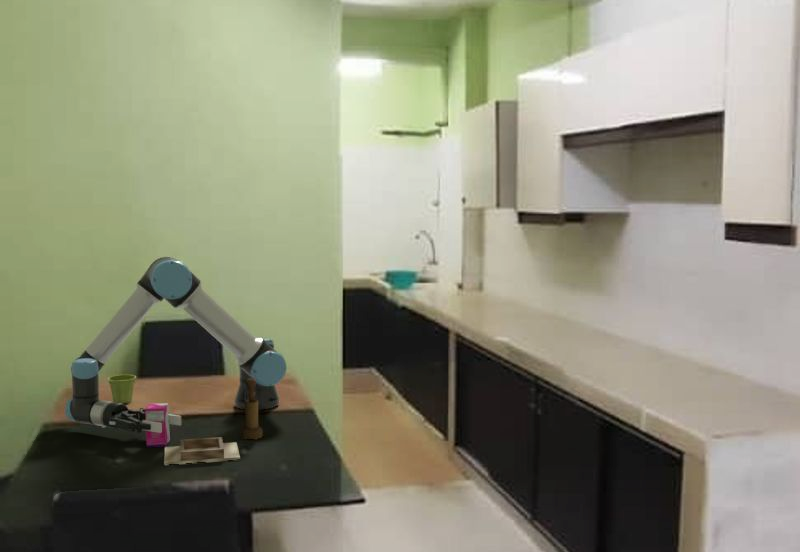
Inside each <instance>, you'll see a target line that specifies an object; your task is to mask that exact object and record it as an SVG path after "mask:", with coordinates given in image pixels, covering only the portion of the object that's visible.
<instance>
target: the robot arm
mask: <svg viewBox="0 0 800 552" xmlns="http://www.w3.org/2000/svg"><path fill="white" fill-rule="evenodd" d="M163 300H165V301H166V302H168V304H169V305H171V306H172V307H173V308H174V309H183V310H184V312H186V313H187V314H188V315H189V316H190V317H191V318H192V319H194V320H195V321H196V322H197V323H198V324H199V325H200V326H201V327H202V328H203V329H205V330H206V331H207V333H209V334H210V335H211V336H212V337H214V339H215V340H217V342H219V344H221V345H222V346H223V347H224V348H226V349H227V350H228V351H229V352H230V353H231V354H232V355H233V356H234V357H235V358H236V361H235V362H236V365H237V366H238V367H239V384H238V388H237V390H236V394H235V396H234V397H235V398H234V407H235V406H236V407H237V409H239V408H240V410H243V409H245V400H248V399H249V397H248V392H249V388H248V387H247V385H246V381H247V379H248V378H254V379H255V380H256V386H255V387H254V392H255V397H254V399H256V400H258V411H264V410H263V409H266V410H270V409H269V408H271V409H274V408H276V407H275V406H277V405H278V404H279V405H280V397H279V394H278V392H277V388H276V385H277V384H279V383H280V382H281V381H282V380H283V379H284V377H285V376H286V372H287V363H286V362H287V361H286V359H285V357H284V356H283V355H282V354H281V353H280V352H278V351H277V350H276V349H275V343H274V340H273V339H272V338H262V337H254V336H253V334H251V332H249V331H248V330H247V329H246V328H245V327H244V326H243V325H242V324H241V323H239V322H238V320H237V319H235V318H234V317H233V315H231V314H230V313H229V312H227V310H226V309H224V307H223V306H221V305H220V304H219V303H218V302H217V301H216V300H215V299H213V297H211V295H209V293H207V292H206V291H205V290H204V289H203V287H202V281H201V280H200V278H198V277H197V276H196V275H195V274H194V273H193V272H192V271H191V270H190V269H189V268H188V266H187V265H186V264H185V263H183V261H180V260H178V259H176V258H173V257H170V256H163V257H159V258H157V259H156V260H155V259H154V261H153V262H152V263H151V264H150V265H149V267H148V268H147V269H146V271H145V272H144V274H143V276H141V278H140V279H139V280H138V281H137V283H136V289H135V290H134V291H133V292H132V294H130V296H129V298H128V299H127V300H126V301H125V302H124V303H123V305H122V306H121V307H120V308H119V309H118V310H117V312H116V313H115V314H114V315H113V317H111V319H110V320H109V321H108V322H107V323H106V325H105V326H104V327H103V329H101V331H100V332H99V333H98V334H97V335H96V336H95V338H94V339H93V340H92V341H91V343H89V345H88V346H87V347H86V349H85V350H84V351H83V352H82V354H80V355H79V356H78V357H76V359H74V360H73V361H72V363H71V367H70V373H71V384H72V385H71V386H72V397H71V398H69V399H68V401H66V403H65V406H64V415H65V417H66V418H67V419H68V420H70V421H71V422H75V423H78V424H86V425H92V426H100V427H101V428H102V429H103V428H110V429H117V430H119V429H121V430H125V431H128V432H135V431H136V432H137V433H138V434H140V433H142V431H145V432H146V431H151V432H157V433H161V432H162V423H159V422H153V421H146V420H145V409H146V407H145V408H144V407H139V409H138V410H135V409H132V408H131V409H129V408H128V407H127V405H126V404H124V403H123V404H122V403H115V402H113V401H111V400H110V401H109V400H101V399H100V391H99V388H100V386H99V385H100V384H99V383H100V382H99V381H100V380H99V377H100V376H99V373H100V371H101V370H102V368H103V367H104V366H105V365H106V363H107V362H108V361H109V360H110V358H112V356H113V355H114V354H115V352H116V351H117V350H118V349H119V348H120V347H121V346H122V344H123V343H124V342H125V341H126V340H127V338H129V336H130V335H131V333H132V332H133V331H134V330H135V329H136V327H137V326H138V325H139V324H140V323H141V322H142V320H143V319H144V318H145V317H146V316H147V314H149V312H150V311H151V310H152V308H153V307H154V306H155V304H157V303H161V302H162V301H163ZM279 405H278V406H279ZM278 406H277V407H278ZM236 407H235V408H236ZM273 407H274V408H273ZM169 425H174V426H180V427H181V426H182V415H179V414H177V415H176V414H171V413H169Z"/></svg>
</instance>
